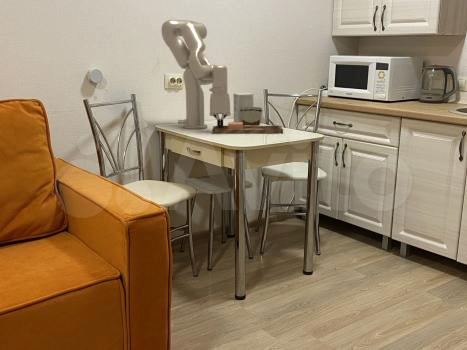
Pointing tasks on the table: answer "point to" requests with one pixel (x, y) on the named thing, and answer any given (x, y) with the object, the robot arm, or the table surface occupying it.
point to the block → (235, 125)
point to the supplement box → (241, 104)
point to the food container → (251, 116)
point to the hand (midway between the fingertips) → (220, 127)
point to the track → (248, 130)
